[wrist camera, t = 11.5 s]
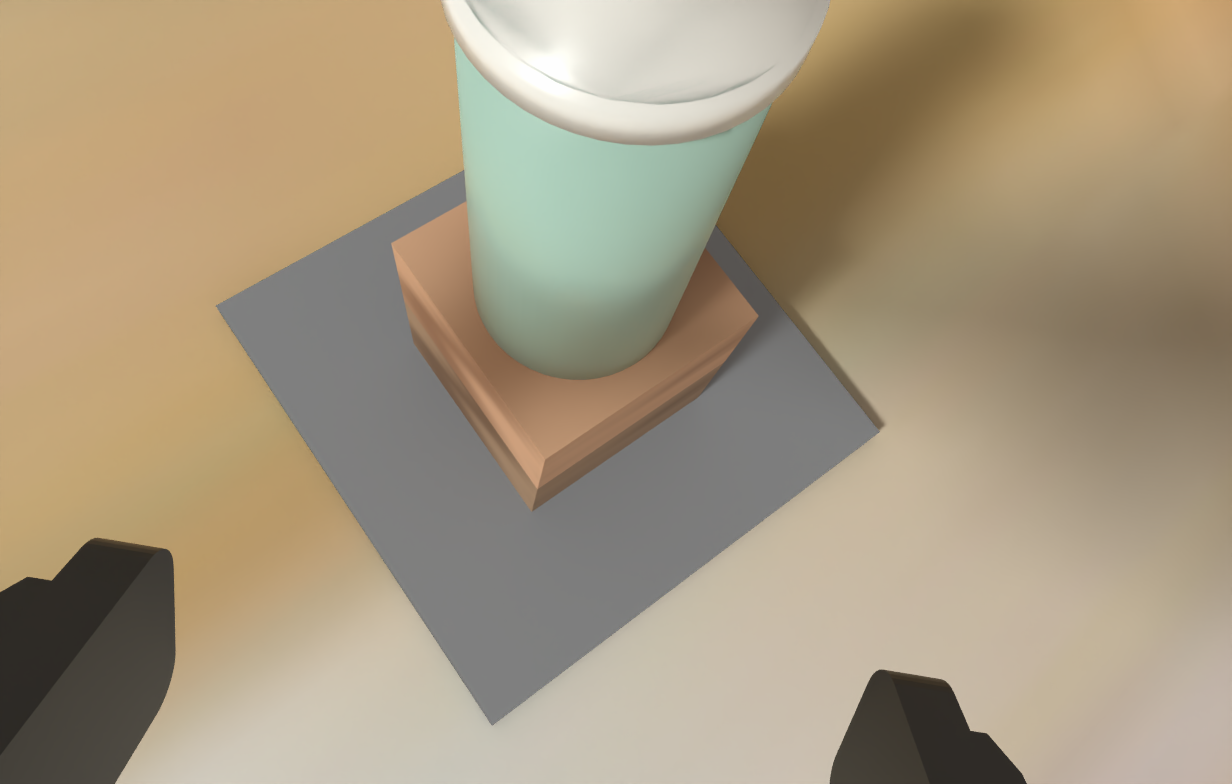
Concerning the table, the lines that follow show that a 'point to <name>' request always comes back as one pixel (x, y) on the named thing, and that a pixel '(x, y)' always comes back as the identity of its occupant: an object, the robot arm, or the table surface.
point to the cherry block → (544, 405)
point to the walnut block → (500, 449)
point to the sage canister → (607, 158)
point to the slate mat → (481, 492)
